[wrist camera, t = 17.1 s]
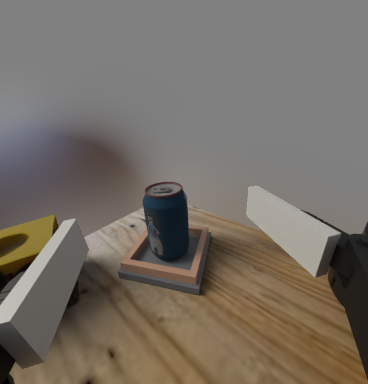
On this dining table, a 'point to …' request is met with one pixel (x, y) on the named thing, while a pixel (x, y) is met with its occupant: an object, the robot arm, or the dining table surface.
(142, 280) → the coaster
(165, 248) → the soda can
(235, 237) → the dining table surface
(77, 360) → the dining table surface
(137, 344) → the dining table surface
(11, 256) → the yellow black cube
